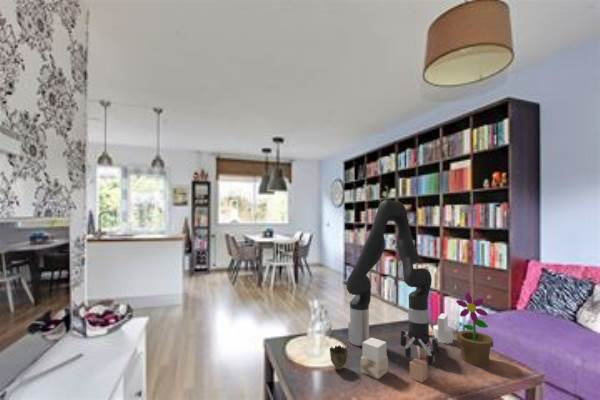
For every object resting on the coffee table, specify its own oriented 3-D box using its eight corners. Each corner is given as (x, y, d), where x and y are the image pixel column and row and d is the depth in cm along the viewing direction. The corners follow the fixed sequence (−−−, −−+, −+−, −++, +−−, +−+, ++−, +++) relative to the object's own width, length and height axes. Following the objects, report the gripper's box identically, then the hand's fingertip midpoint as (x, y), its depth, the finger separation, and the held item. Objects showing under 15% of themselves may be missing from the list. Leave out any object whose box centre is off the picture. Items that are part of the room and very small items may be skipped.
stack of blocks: (414, 341, 158) (414, 317, 159) (428, 343, 157) (427, 318, 157) (419, 361, 138) (419, 333, 138) (435, 363, 136) (434, 334, 136)
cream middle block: (362, 357, 129) (362, 342, 129) (371, 351, 134) (371, 337, 134) (377, 363, 124) (377, 347, 124) (386, 356, 129) (386, 342, 130)
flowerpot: (452, 360, 138) (451, 291, 139) (462, 350, 149) (461, 286, 150) (489, 372, 129) (488, 298, 129) (497, 360, 139) (496, 291, 140)
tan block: (409, 377, 124) (409, 362, 125) (415, 373, 128) (414, 358, 128) (422, 382, 121) (422, 366, 121) (427, 377, 125) (427, 362, 125)
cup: (336, 374, 127) (336, 354, 127) (326, 366, 133) (326, 347, 133) (351, 370, 130) (351, 350, 130) (341, 362, 137) (340, 344, 137)
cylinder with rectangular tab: (435, 335, 167) (435, 312, 167) (454, 339, 162) (454, 315, 162) (431, 340, 159) (431, 316, 160) (450, 345, 154) (450, 320, 155)
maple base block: (360, 372, 129) (360, 357, 129) (370, 365, 135) (370, 350, 135) (378, 379, 123) (378, 363, 124) (388, 371, 129) (387, 356, 129)
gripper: (397, 317, 127) (397, 358, 127) (433, 326, 118) (434, 370, 117) (405, 313, 133) (406, 352, 132) (440, 321, 123) (441, 363, 122)
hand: (419, 361), depth 125 cm, fingers open, 8 cm apart
